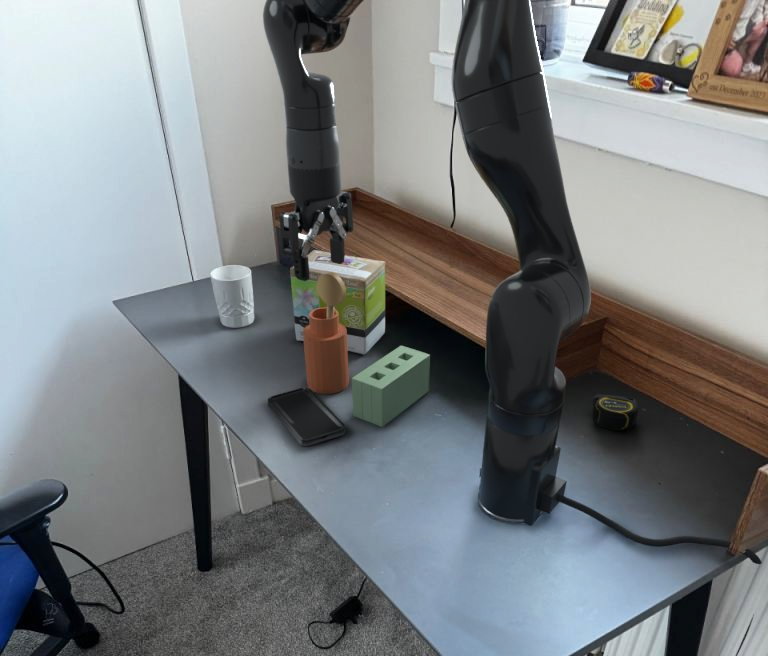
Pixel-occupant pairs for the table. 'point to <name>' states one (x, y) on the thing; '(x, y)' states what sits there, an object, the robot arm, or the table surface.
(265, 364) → the table surface
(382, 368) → the holder
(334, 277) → the tan flat rounded part
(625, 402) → the tape measure
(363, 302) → the tea box
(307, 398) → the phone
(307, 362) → the bottle
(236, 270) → the white cup
